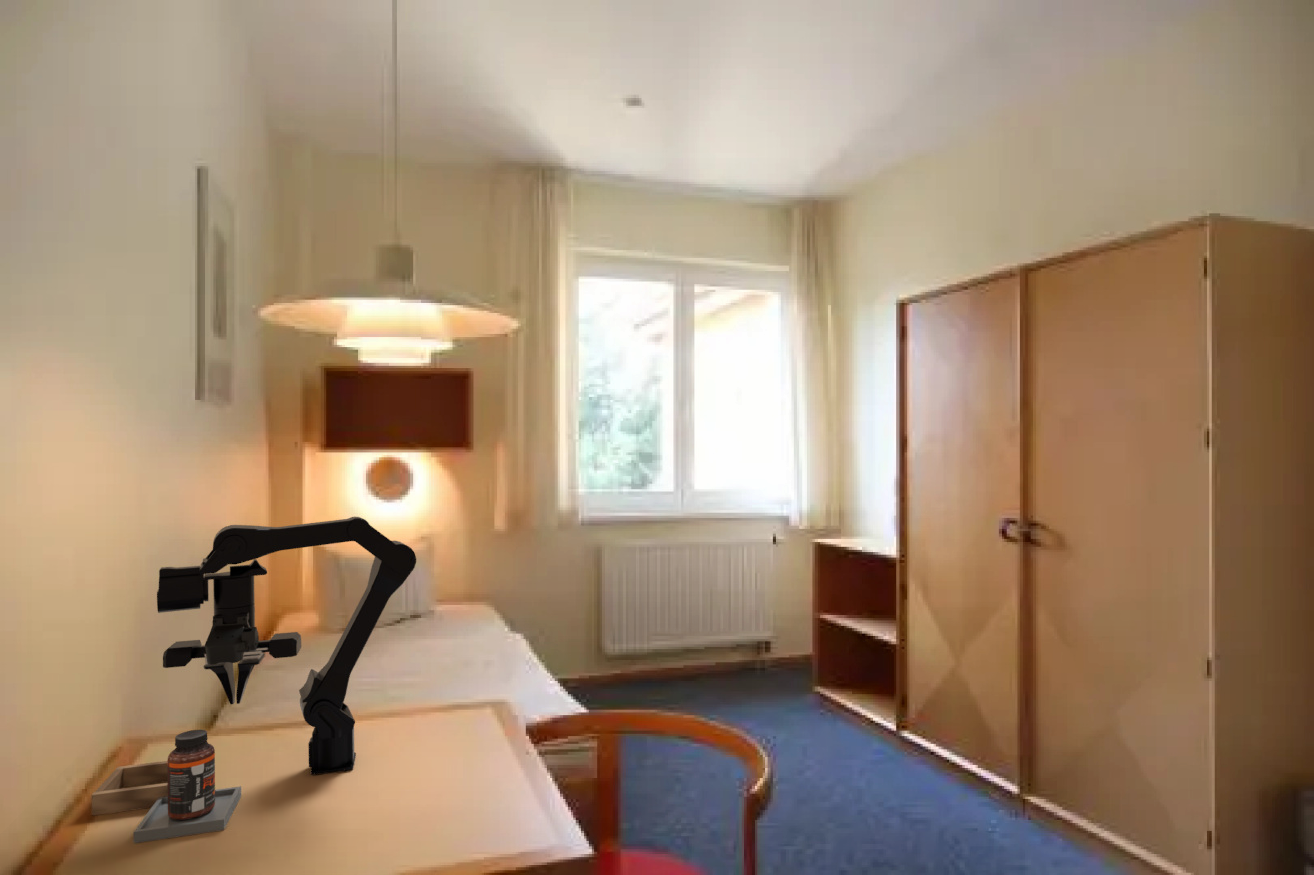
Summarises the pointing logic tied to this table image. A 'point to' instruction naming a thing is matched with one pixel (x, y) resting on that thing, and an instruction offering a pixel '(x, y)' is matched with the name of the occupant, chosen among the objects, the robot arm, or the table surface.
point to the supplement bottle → (191, 776)
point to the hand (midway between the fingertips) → (235, 703)
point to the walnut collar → (133, 798)
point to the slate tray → (166, 827)
